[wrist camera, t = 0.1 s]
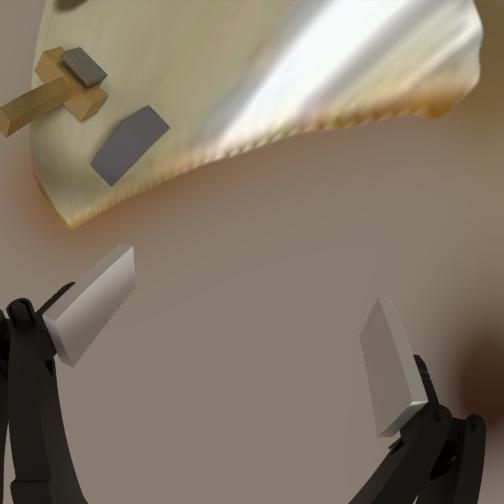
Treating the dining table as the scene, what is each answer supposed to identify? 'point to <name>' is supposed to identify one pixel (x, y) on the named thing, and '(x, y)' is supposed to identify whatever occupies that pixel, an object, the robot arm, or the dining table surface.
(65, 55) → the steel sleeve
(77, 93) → the t-shaped wooden piece
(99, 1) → the dining table surface
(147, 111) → the slotted grey block
